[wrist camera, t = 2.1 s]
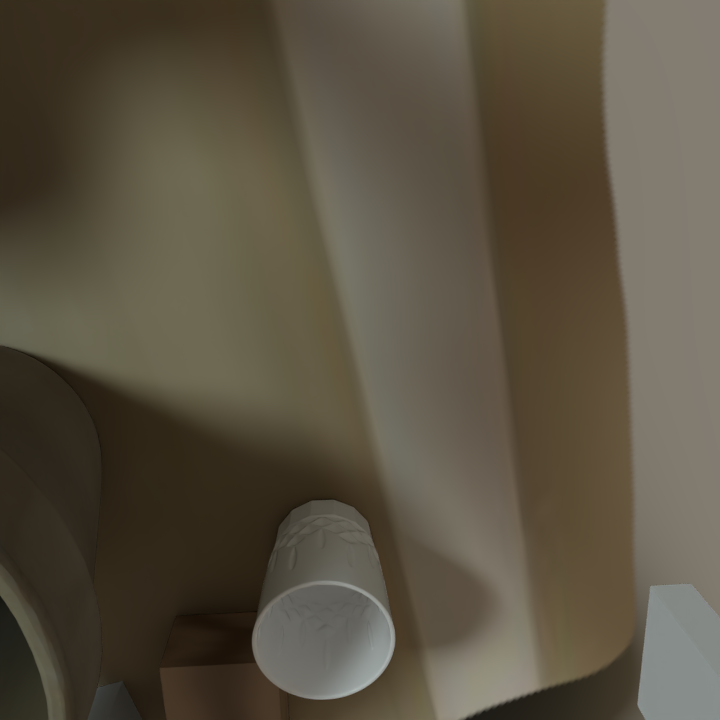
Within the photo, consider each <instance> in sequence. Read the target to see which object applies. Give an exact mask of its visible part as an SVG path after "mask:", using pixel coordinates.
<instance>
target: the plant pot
mask: <svg viewBox="0 0 720 720" xmlns="http://www.w3.org/2000/svg"><path fill="white" fill-rule="evenodd" d="M101 486H102V458H101V449H100V444H99V439H98V435H97V431H96V427H95V425H94V423H93V420H92V418H91V416H90V414H89V412H88V410H87V408H86V407H85V405H84V404H83V402H82V400H81V399H80V397H79V396H78V395H77V394H76V393H75V391H74V390H73V389H72V388H71V387H70V386H69V385H68V384H67V383H66V381H64V380H63V379H62V378H61V377H60V376H59V375H58V374H56V373H55V372H54V371H53V370H51V369H50V368H49V367H47V366H45V365H44V364H42V363H41V362H39V361H38V360H36V359H34V358H32V357H30V356H28V355H26V354H24V353H21V352H18V351H15V350H13V349H10V348H7V347H4V346H0V720H88V717H89V714H90V711H91V707H92V704H93V701H94V698H95V695H96V690H97V685H98V680H99V675H100V669H101V660H102V627H101V620H100V613H99V607H98V602H97V598H96V594H95V590H94V587H93V581H94V570H95V559H96V548H97V536H98V525H99V513H100V501H101Z"/></svg>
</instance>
